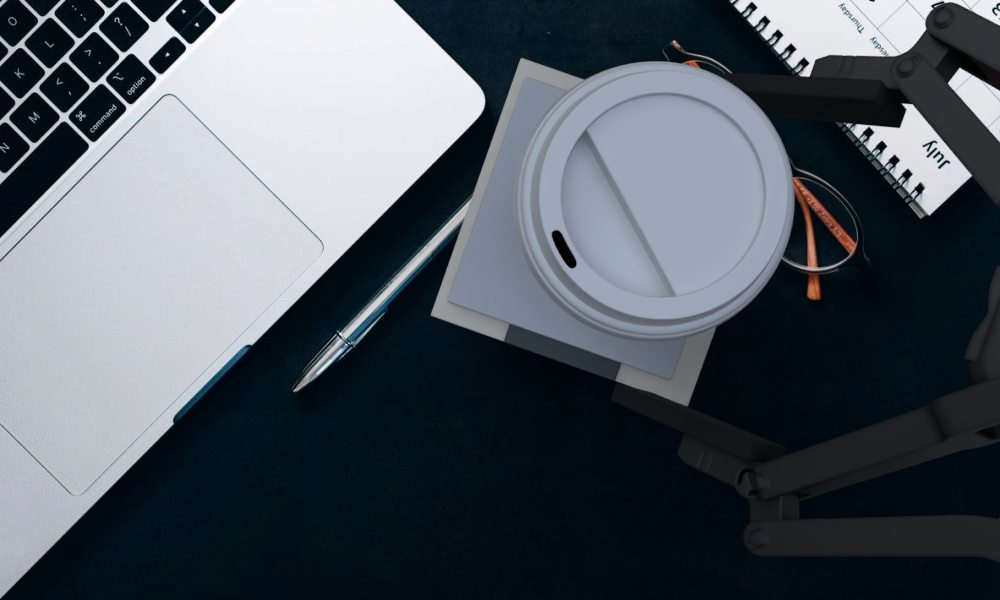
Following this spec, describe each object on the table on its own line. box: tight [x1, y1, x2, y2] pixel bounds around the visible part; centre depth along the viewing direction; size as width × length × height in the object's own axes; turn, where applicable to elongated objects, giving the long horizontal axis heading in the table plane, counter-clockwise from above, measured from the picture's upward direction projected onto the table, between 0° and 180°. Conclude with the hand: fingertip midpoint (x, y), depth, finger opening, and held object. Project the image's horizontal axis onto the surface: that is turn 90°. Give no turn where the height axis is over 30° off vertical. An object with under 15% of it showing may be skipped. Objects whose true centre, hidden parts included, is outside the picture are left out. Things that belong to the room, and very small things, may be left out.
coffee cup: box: [513, 60, 796, 342], centre depth 33 cm, size 10×10×15 cm
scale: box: [430, 57, 717, 407], centre depth 42 cm, size 14×14×3 cm
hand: (683, 245), depth 35 cm, fingers open, 13 cm apart
